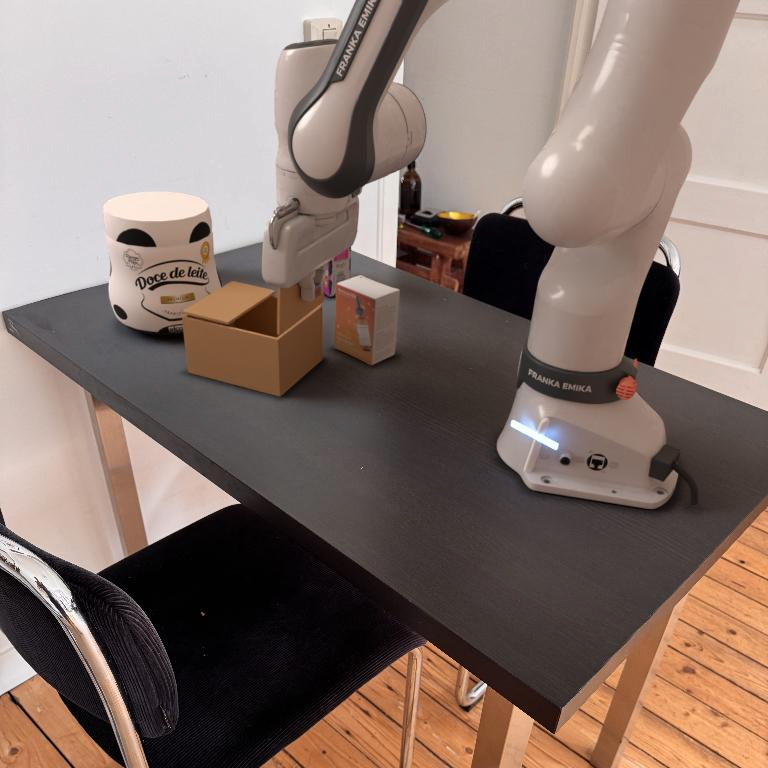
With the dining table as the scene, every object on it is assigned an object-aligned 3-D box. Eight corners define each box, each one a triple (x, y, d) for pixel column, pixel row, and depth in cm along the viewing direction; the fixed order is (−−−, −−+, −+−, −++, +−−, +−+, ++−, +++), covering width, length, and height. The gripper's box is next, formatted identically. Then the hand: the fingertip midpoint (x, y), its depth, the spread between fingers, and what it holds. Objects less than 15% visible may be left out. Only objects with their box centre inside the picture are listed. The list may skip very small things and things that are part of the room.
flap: (321, 301, 112) (323, 301, 112) (276, 334, 103) (279, 335, 103) (323, 250, 108) (326, 251, 108) (277, 280, 98) (280, 281, 98)
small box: (333, 349, 121) (334, 282, 115) (357, 338, 125) (360, 273, 118) (371, 366, 117) (375, 298, 111) (396, 355, 120) (400, 288, 114)
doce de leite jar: (177, 354, 117) (162, 232, 106) (89, 326, 123) (68, 208, 112) (246, 315, 129) (240, 203, 118) (164, 292, 135) (151, 182, 125)
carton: (322, 359, 118) (322, 300, 112) (280, 397, 108) (278, 333, 103) (235, 338, 122) (232, 280, 117) (187, 372, 112) (181, 310, 107)
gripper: (294, 216, 88) (296, 331, 97) (368, 176, 103) (364, 278, 112) (246, 206, 90) (251, 320, 98) (325, 168, 105) (324, 270, 114)
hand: (312, 297), depth 105 cm, fingers closed, pressing on flap
